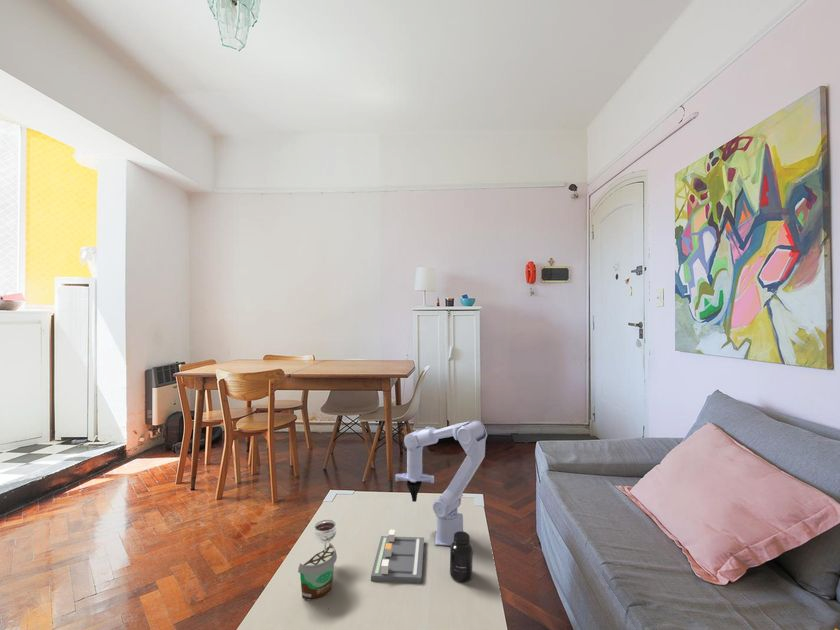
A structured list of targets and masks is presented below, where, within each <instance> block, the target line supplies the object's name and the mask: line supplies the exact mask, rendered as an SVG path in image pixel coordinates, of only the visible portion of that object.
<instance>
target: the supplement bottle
mask: <svg viewBox="0 0 840 630" xmlns="http://www.w3.org/2000/svg"><path fill="white" fill-rule="evenodd" d="M470 539H471V538H470V534H469V533H467V532H466V531H464V532H462V531H459V532H456V533H455V534H454V541H453V542H452V544H451V546H450V549H449V552H450V554H449V574H450V577H451V578H452V579H453V580H454V581H456V582H458V583H466V582H469V581H470V580H471V579H472V577H473V561H474V560H473V559H474V555H473V554H474V549H473V545H472V544H471V540H470Z"/></svg>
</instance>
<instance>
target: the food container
mask: <svg viewBox="0 0 840 630" xmlns="http://www.w3.org/2000/svg"><path fill="white" fill-rule="evenodd" d="M337 555H338V554H337V551H336V548H335V546H334V545H333V544H332V543H331V542H328V546H326V549H325V550H324V549H323V550H322V551H319V552H318V553H316V554H314V555H313V556H312V557H311V558H310V559H309V560H307V561H306V562H305V563H303V564H302V563H299V566H298V570H297V573H299V576H300V577H299V579H300V585H301V586H300V588H301V598H303V599H304V598H305V600H308V599H309V601H313V600H314V601H315V600H318V599H322V598H323V597H325V596H327V595H328V594H329V593H330V592H331V591H332V589H333V580H334V578H333V577H334V569H335V567H334V566H335V563H336V562H337V559H338V556H337Z"/></svg>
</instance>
